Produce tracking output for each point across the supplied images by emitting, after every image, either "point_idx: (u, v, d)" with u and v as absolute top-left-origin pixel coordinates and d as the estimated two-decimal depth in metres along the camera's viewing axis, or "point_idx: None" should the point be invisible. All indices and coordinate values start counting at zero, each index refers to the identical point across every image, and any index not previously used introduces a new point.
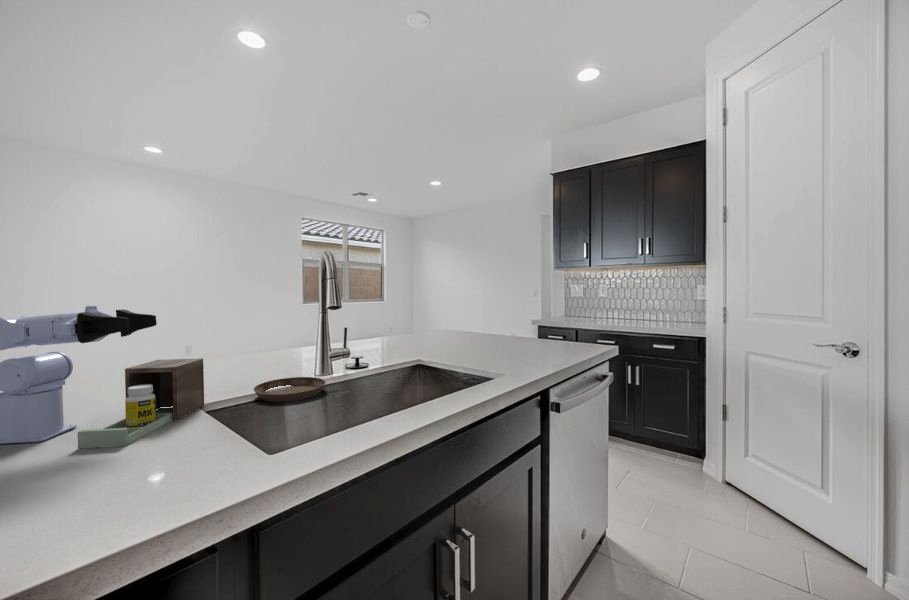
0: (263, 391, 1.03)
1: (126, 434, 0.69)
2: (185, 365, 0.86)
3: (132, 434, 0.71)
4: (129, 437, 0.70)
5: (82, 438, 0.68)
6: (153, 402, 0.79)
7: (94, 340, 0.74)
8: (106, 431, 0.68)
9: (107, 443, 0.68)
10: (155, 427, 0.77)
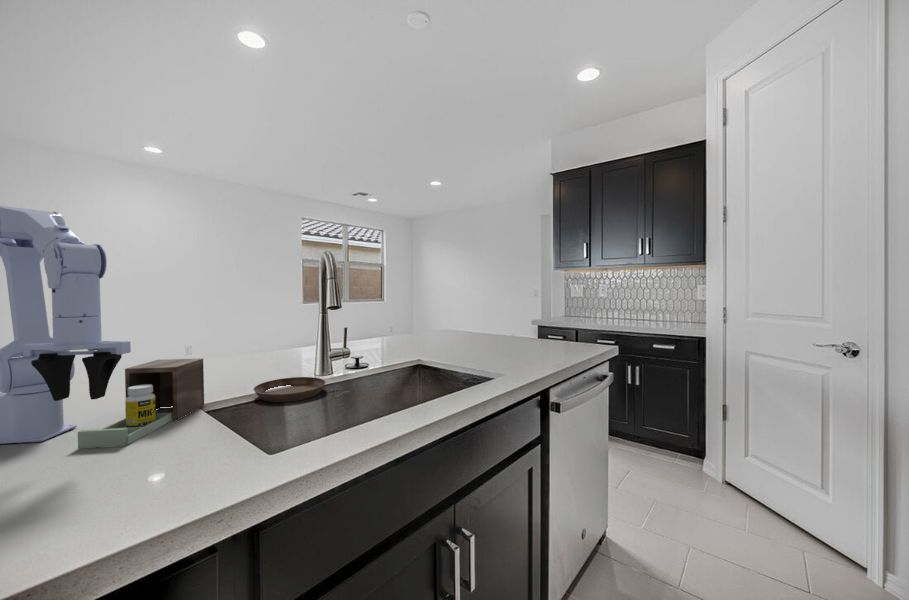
0: (263, 391, 1.03)
1: (126, 434, 0.69)
2: (185, 365, 0.86)
3: (132, 434, 0.71)
4: (129, 437, 0.70)
5: (82, 438, 0.68)
6: (153, 402, 0.79)
7: None
8: (106, 431, 0.68)
9: (107, 443, 0.68)
10: (155, 427, 0.77)
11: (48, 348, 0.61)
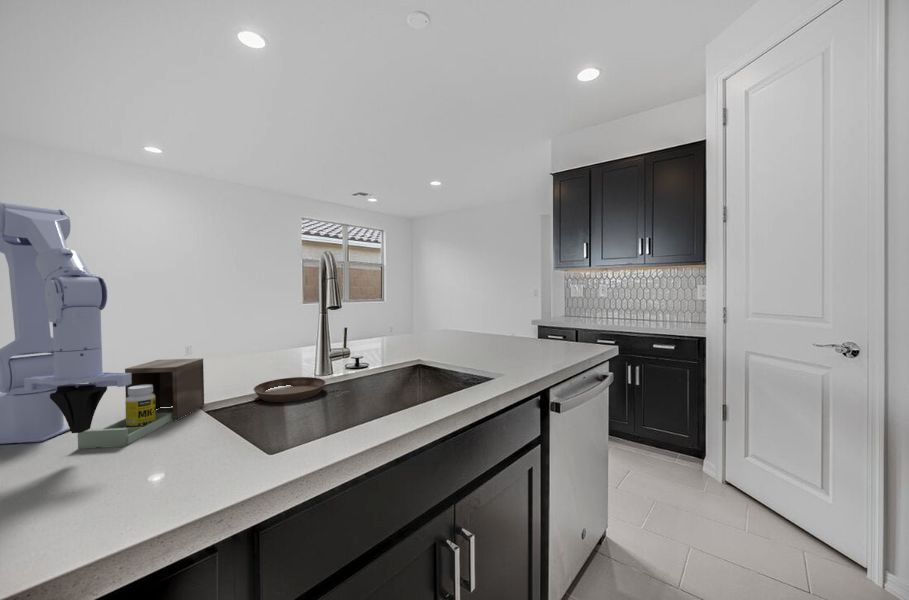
0: (263, 391, 1.03)
1: (126, 434, 0.69)
2: (185, 365, 0.86)
3: (132, 434, 0.71)
4: (129, 437, 0.70)
5: (82, 438, 0.68)
6: (153, 402, 0.79)
7: None
8: (106, 431, 0.68)
9: (107, 443, 0.68)
10: (155, 427, 0.77)
11: (49, 382, 0.61)
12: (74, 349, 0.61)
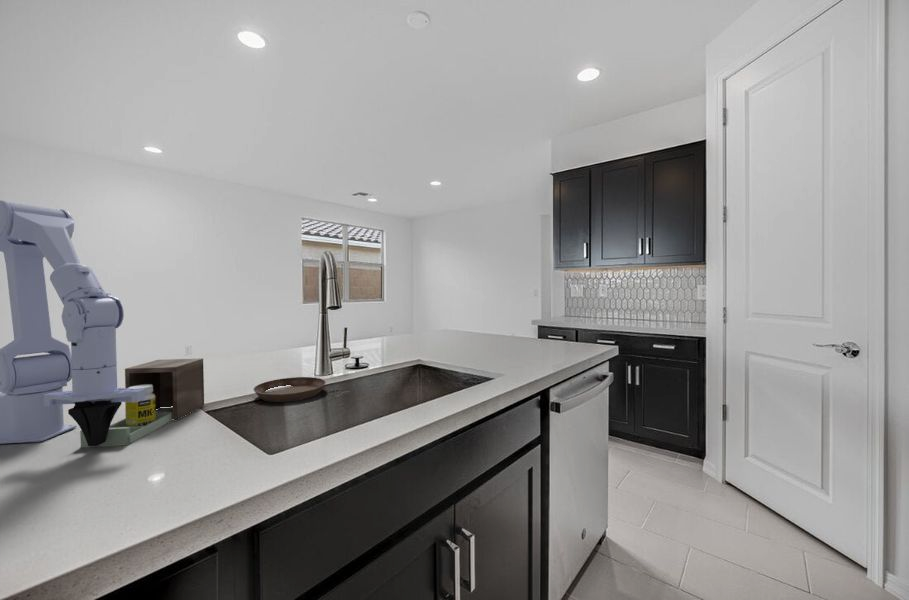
0: (263, 391, 1.03)
1: (128, 433, 0.70)
2: (185, 365, 0.86)
3: (134, 433, 0.71)
4: (131, 436, 0.70)
5: None
6: (153, 402, 0.79)
7: None
8: (108, 430, 0.69)
9: (109, 442, 0.69)
10: (157, 426, 0.78)
11: (68, 398, 0.64)
12: (94, 367, 0.65)
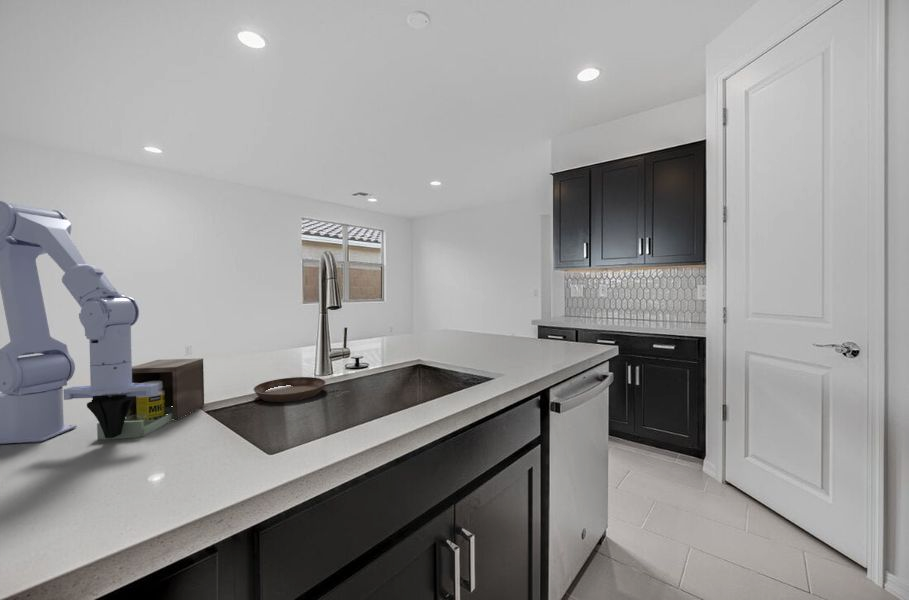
0: (263, 391, 1.03)
1: (142, 426, 0.73)
2: (185, 365, 0.86)
3: (148, 426, 0.75)
4: (145, 429, 0.74)
5: (101, 429, 0.72)
6: (163, 398, 0.82)
7: None
8: (124, 423, 0.73)
9: (125, 434, 0.73)
10: (168, 420, 0.81)
11: (86, 392, 0.68)
12: (116, 362, 0.69)
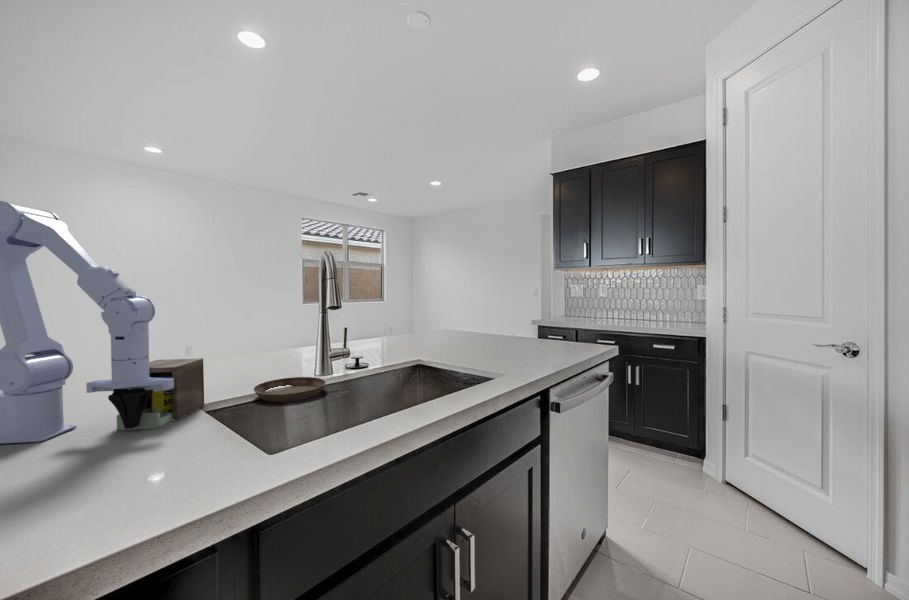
0: (263, 391, 1.03)
1: (159, 417, 0.78)
2: (185, 365, 0.86)
3: (163, 418, 0.80)
4: (161, 420, 0.79)
5: (120, 421, 0.77)
6: None
7: None
8: None
9: (142, 425, 0.77)
10: None
11: (108, 386, 0.73)
12: (140, 357, 0.75)
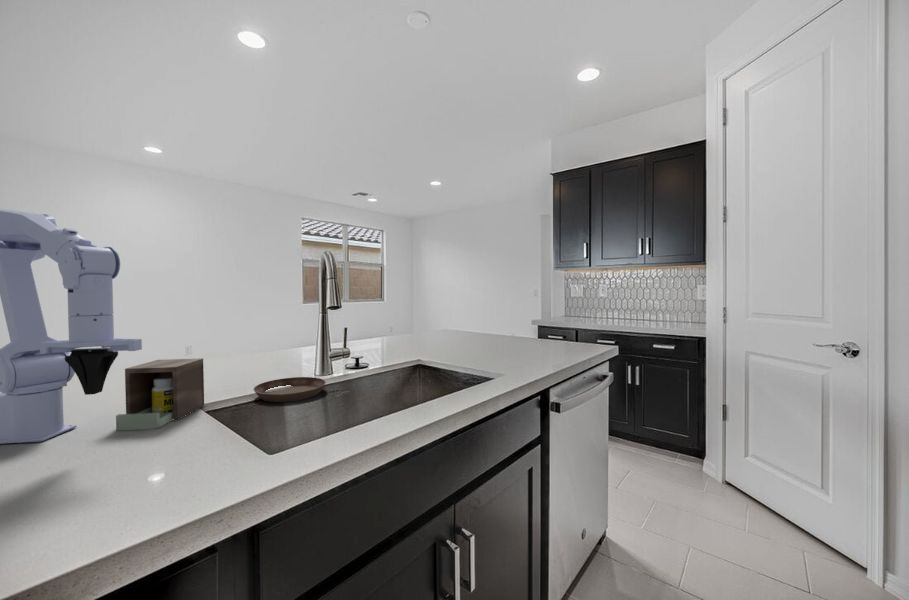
0: (263, 391, 1.03)
1: (158, 418, 0.78)
2: (185, 365, 0.86)
3: (163, 418, 0.80)
4: (160, 421, 0.79)
5: (120, 421, 0.77)
6: None
7: None
8: (141, 415, 0.77)
9: (141, 426, 0.77)
10: None
11: (64, 345, 0.64)
12: (91, 314, 0.65)
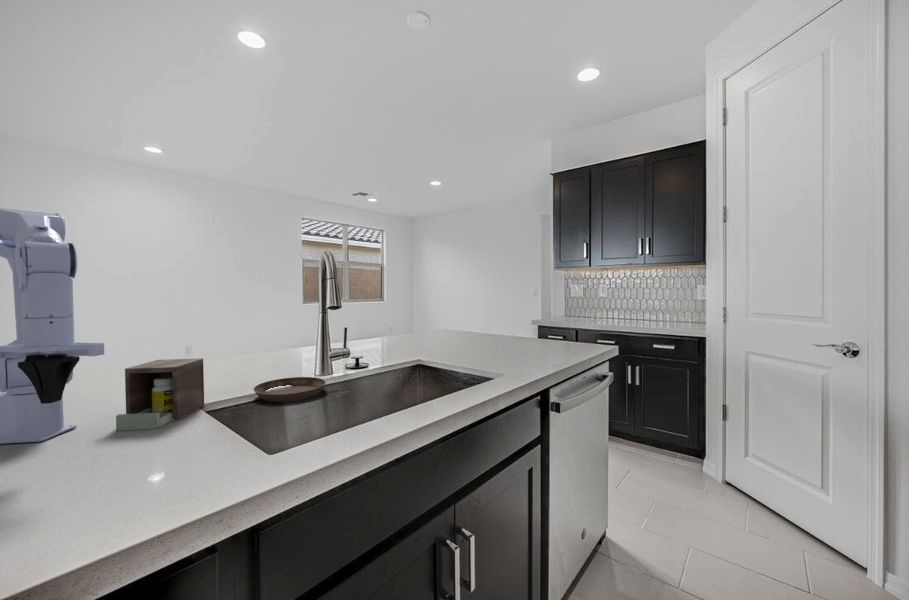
0: (263, 391, 1.03)
1: (158, 418, 0.78)
2: (185, 365, 0.86)
3: (163, 418, 0.80)
4: (160, 421, 0.79)
5: (120, 421, 0.77)
6: None
7: None
8: (141, 415, 0.77)
9: (141, 426, 0.77)
10: None
11: (17, 350, 0.59)
12: (39, 316, 0.59)
